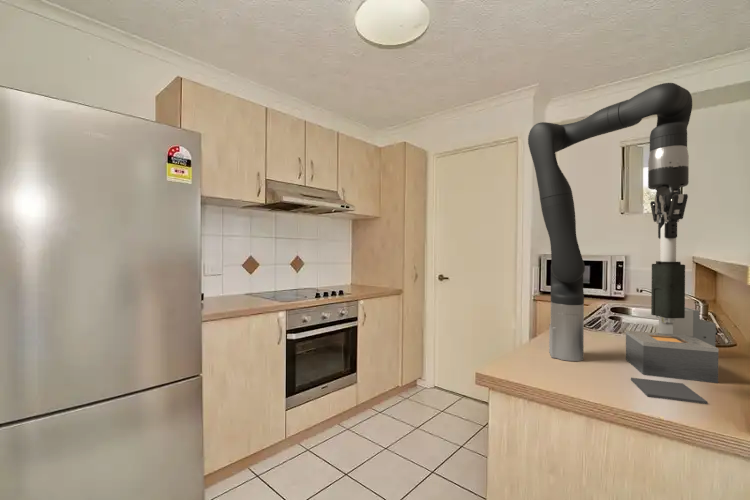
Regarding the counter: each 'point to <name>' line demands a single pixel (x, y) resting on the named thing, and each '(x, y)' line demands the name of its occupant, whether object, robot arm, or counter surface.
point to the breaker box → (672, 356)
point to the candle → (668, 282)
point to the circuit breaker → (689, 326)
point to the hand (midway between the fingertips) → (667, 238)
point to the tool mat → (667, 390)
